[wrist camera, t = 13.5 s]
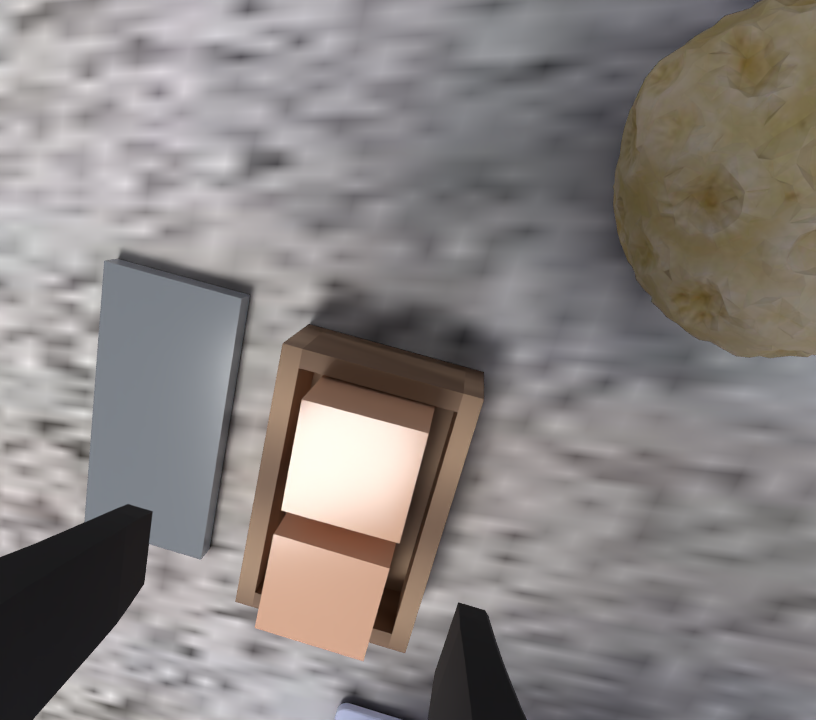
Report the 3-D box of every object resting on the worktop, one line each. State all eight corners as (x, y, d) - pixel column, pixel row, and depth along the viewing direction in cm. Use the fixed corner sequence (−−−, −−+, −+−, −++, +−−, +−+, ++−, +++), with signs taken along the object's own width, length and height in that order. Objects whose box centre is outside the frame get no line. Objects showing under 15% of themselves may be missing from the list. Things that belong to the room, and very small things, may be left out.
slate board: (209, 548, 25) (200, 559, 25) (96, 514, 26) (84, 524, 25) (250, 294, 22) (241, 298, 21) (117, 258, 22) (104, 260, 21)
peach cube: (385, 577, 24) (363, 661, 19) (295, 550, 24) (254, 627, 20) (407, 498, 23) (389, 568, 18) (312, 470, 23) (273, 534, 18)
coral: (887, 303, 19) (1139, 370, 12) (604, 338, 20) (672, 416, 13) (906, -2, 16) (1237, -157, 9) (584, 63, 18) (652, -26, 11)
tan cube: (415, 476, 22) (399, 543, 18) (319, 450, 22) (281, 510, 18) (439, 385, 21) (428, 433, 17) (338, 358, 21) (301, 399, 17)
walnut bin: (414, 600, 25) (405, 653, 22) (263, 555, 25) (235, 601, 22) (483, 372, 21) (483, 399, 18) (309, 323, 22) (282, 343, 19)
